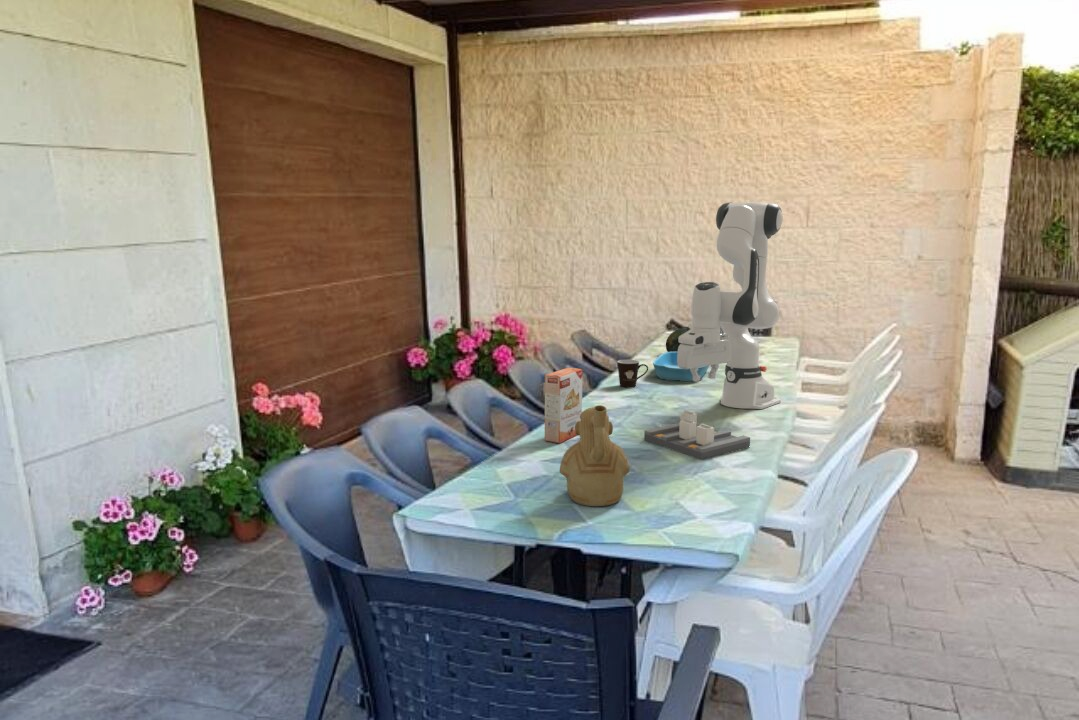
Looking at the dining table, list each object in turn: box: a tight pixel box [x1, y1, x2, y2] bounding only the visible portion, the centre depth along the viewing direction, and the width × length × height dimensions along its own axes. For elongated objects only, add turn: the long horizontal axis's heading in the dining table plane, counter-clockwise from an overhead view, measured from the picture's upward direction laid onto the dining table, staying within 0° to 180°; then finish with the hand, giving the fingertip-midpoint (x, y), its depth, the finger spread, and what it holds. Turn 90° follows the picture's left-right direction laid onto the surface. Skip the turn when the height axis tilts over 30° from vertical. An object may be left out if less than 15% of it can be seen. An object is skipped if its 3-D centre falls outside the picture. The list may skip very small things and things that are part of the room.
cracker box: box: [544, 367, 584, 444], centre depth 242 cm, size 14×6×21 cm, turn 148°
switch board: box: [643, 422, 751, 461], centre depth 236 cm, size 20×24×3 cm
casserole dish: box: [652, 351, 710, 382], centre depth 336 cm, size 37×22×7 cm, turn 161°
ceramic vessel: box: [559, 404, 631, 507], centre depth 190 cm, size 17×20×25 cm
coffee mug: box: [616, 359, 649, 389], centre depth 313 cm, size 12×9×10 cm
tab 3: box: [696, 423, 715, 445], centre depth 228 cm, size 3×4×6 cm
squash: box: [665, 326, 691, 352], centre depth 378 cm, size 14×15×15 cm
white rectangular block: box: [679, 419, 698, 440], centre depth 233 cm, size 3×4×6 cm
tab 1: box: [679, 410, 698, 424], centre depth 243 cm, size 3×4×6 cm
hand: (704, 379), depth 244 cm, fingers open, 5 cm apart
